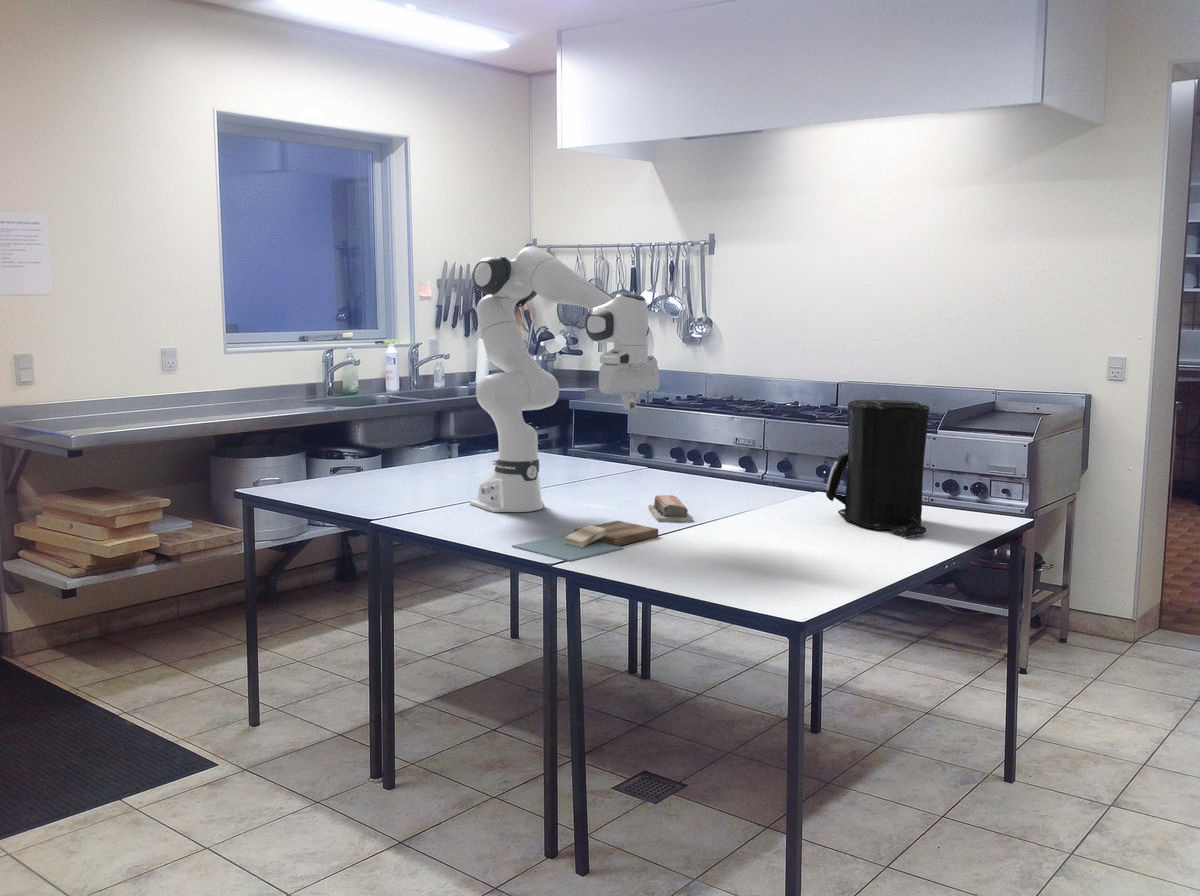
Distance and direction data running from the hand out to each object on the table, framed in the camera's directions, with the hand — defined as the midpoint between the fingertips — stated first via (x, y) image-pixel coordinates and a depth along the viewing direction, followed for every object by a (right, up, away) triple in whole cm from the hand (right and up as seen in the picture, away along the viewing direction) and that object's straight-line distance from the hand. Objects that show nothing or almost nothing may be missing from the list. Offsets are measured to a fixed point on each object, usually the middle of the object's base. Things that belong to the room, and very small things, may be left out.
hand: (629, 409), depth 272 cm
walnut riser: (-4, -33, -9) cm, 34 cm away
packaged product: (+12, -30, +20) cm, 37 cm away
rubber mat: (-16, -34, -22) cm, 43 cm away
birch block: (-11, -32, -18) cm, 39 cm away
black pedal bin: (+67, -31, +11) cm, 74 cm away
